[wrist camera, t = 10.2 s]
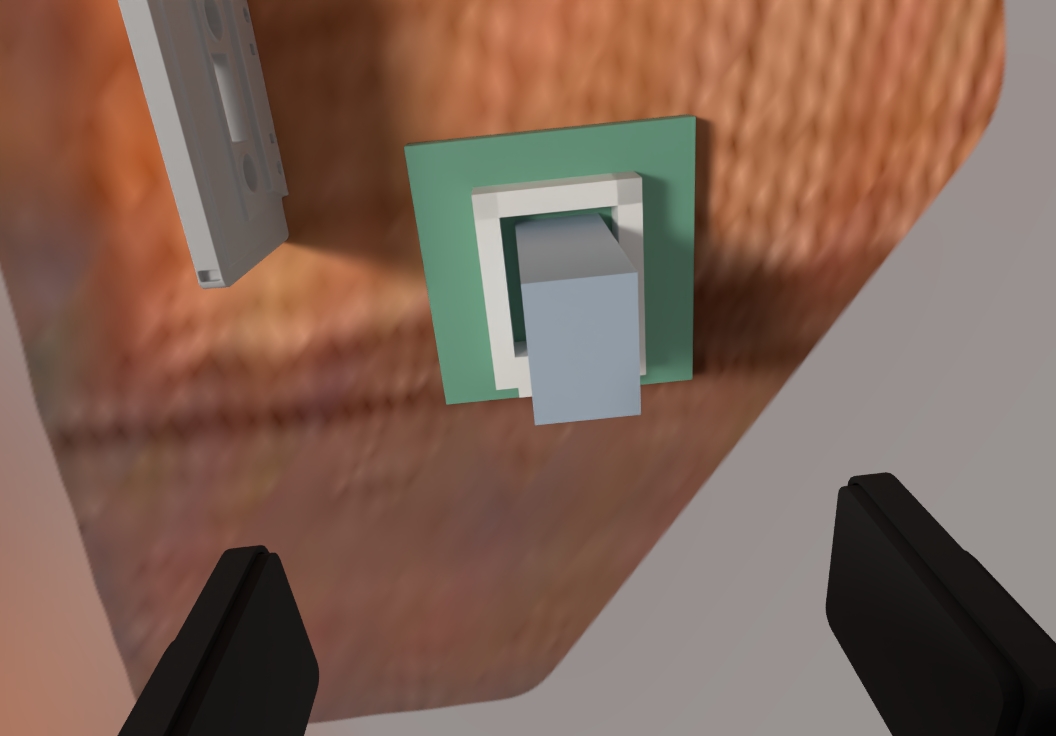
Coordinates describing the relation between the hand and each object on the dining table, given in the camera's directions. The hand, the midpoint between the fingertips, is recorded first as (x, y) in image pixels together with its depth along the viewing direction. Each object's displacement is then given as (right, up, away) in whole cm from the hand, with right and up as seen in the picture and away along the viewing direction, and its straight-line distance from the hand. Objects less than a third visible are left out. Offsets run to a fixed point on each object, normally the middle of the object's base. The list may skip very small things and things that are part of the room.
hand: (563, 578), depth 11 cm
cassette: (-12, +15, +16) cm, 25 cm away
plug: (+1, +8, +18) cm, 20 cm away
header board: (+1, +8, +19) cm, 21 cm away
